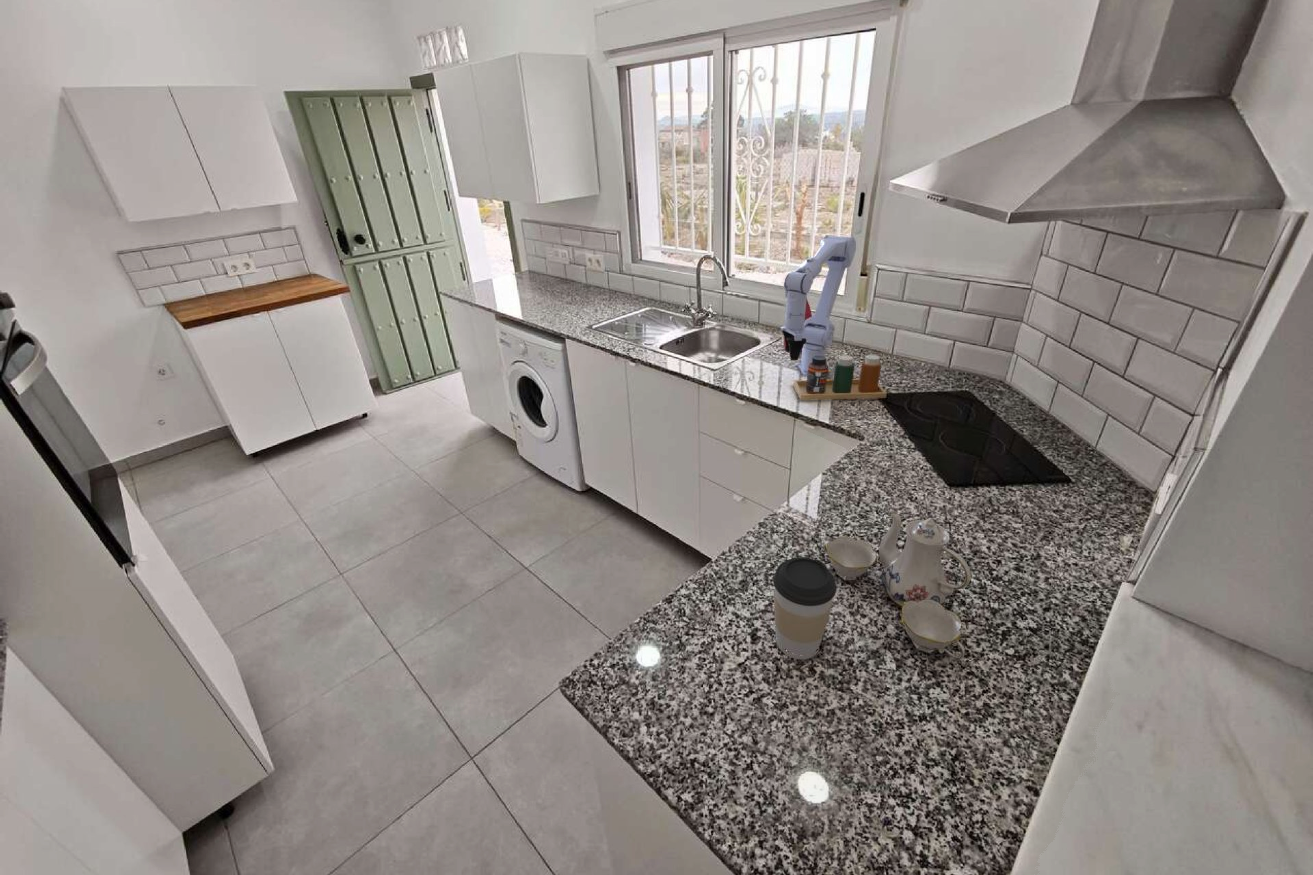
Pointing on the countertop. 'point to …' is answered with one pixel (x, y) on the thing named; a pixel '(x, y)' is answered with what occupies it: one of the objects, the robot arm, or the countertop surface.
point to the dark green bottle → (843, 375)
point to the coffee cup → (802, 605)
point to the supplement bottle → (817, 375)
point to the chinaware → (910, 578)
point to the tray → (829, 394)
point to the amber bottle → (870, 374)
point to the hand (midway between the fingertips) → (791, 355)
